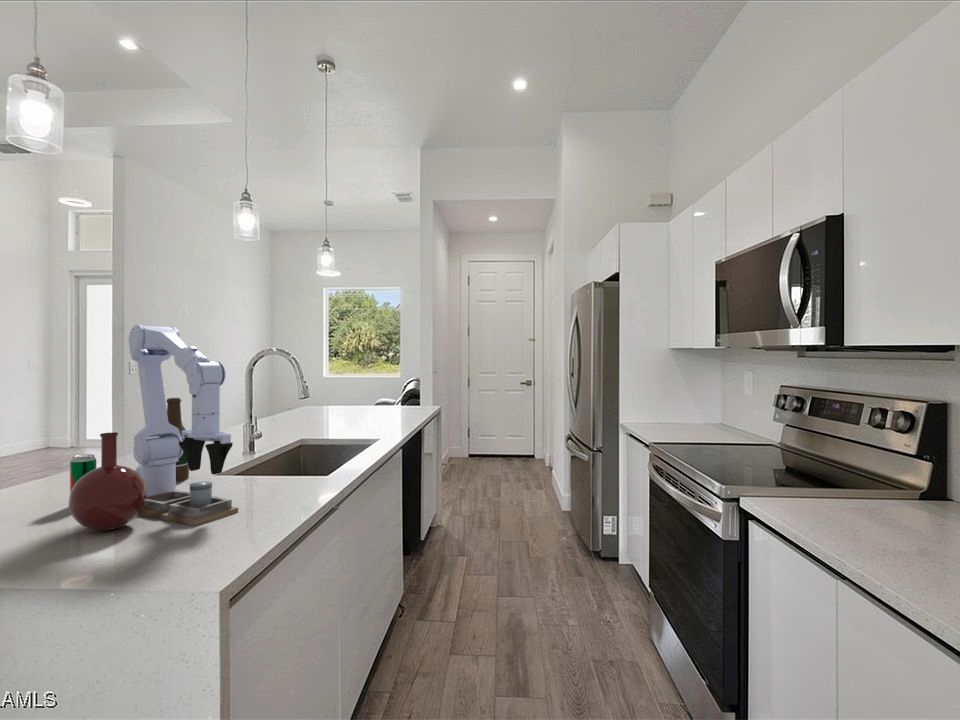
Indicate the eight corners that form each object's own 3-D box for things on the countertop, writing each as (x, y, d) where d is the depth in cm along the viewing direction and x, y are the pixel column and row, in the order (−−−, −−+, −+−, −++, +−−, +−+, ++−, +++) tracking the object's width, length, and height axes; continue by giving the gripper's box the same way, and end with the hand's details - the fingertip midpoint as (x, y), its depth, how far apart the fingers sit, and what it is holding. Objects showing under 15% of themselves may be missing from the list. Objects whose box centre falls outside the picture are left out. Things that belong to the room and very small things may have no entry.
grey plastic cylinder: (184, 511, 114) (185, 484, 114) (203, 506, 118) (203, 480, 118) (198, 514, 112) (198, 487, 112) (216, 508, 117) (216, 482, 116)
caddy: (130, 512, 117) (130, 499, 117) (176, 500, 127) (176, 488, 127) (194, 525, 108) (194, 511, 108) (238, 511, 118) (238, 499, 118)
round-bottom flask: (51, 541, 99) (51, 438, 99) (97, 519, 112) (97, 429, 112) (122, 539, 100) (122, 438, 100) (159, 518, 113) (159, 428, 113)
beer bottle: (151, 482, 145) (151, 398, 145) (172, 476, 153) (172, 396, 153) (175, 483, 144) (175, 399, 144) (195, 477, 152) (195, 397, 151)
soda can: (81, 509, 120) (81, 458, 120) (64, 507, 121) (64, 457, 121) (101, 503, 125) (101, 454, 125) (84, 501, 126) (84, 453, 126)
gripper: (169, 413, 117) (168, 472, 117) (211, 417, 111) (210, 479, 111) (197, 410, 124) (197, 466, 124) (238, 414, 118) (238, 472, 118)
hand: (205, 471), depth 118 cm, fingers open, 7 cm apart
